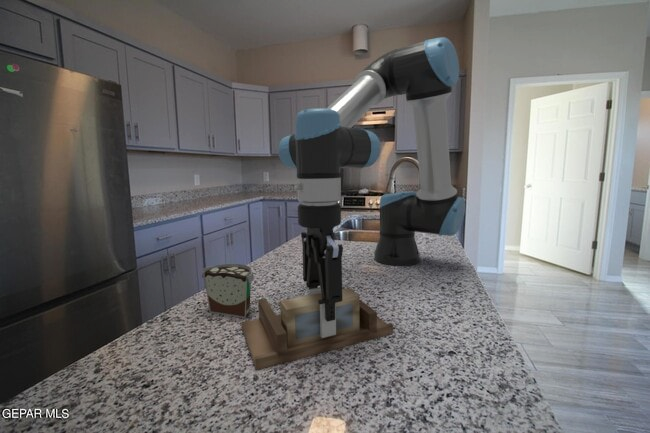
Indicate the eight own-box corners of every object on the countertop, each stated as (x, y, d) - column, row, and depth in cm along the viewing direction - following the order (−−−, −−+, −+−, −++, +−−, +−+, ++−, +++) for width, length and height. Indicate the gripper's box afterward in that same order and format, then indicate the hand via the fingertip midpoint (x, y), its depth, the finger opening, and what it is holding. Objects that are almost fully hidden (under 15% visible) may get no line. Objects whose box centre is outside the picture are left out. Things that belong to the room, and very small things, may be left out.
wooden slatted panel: (354, 303, 73) (354, 282, 72) (392, 333, 59) (393, 308, 59) (241, 326, 63) (240, 303, 62) (256, 369, 49) (254, 340, 49)
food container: (266, 307, 72) (264, 265, 71) (251, 319, 66) (249, 274, 65) (221, 300, 76) (218, 260, 75) (204, 311, 70) (200, 268, 69)
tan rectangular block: (349, 321, 63) (349, 287, 62) (359, 330, 59) (359, 295, 58) (281, 336, 57) (279, 300, 56) (288, 348, 53) (286, 310, 52)
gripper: (283, 199, 61) (288, 311, 65) (319, 210, 44) (322, 359, 48) (319, 197, 64) (321, 304, 67) (364, 207, 47) (364, 348, 51)
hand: (321, 327), depth 58 cm, fingers open, 5 cm apart
